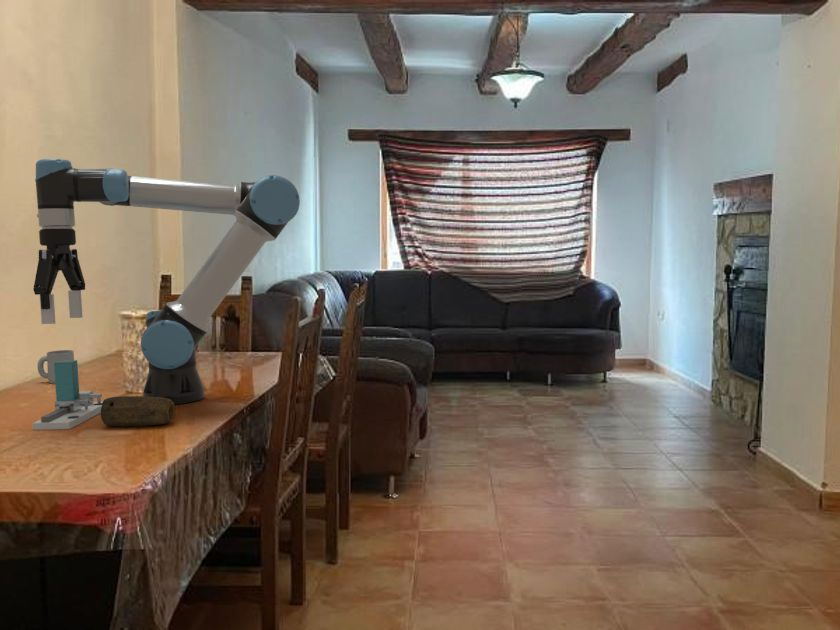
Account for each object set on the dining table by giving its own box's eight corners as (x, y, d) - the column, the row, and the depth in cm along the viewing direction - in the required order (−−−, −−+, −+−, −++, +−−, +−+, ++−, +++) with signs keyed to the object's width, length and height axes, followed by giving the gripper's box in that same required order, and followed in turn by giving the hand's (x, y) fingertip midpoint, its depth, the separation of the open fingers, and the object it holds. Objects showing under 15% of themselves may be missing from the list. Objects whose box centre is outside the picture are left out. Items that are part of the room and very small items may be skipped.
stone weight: (99, 431, 167) (97, 400, 166) (108, 423, 174) (106, 394, 173) (170, 427, 168) (169, 397, 168) (176, 420, 175) (175, 391, 175)
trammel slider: (92, 407, 182) (89, 359, 181) (85, 411, 178) (82, 362, 177) (63, 407, 182) (60, 360, 181) (55, 411, 178) (52, 362, 177)
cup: (72, 383, 226) (70, 352, 225) (35, 385, 223) (33, 354, 222) (77, 378, 233) (75, 349, 232) (41, 380, 230) (39, 351, 229)
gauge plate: (109, 407, 190) (108, 389, 190) (69, 429, 168) (68, 408, 168) (77, 408, 190) (76, 390, 190) (32, 429, 168) (31, 409, 168)
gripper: (66, 229, 188) (71, 315, 190) (11, 227, 164) (18, 326, 166) (96, 228, 188) (101, 315, 190) (46, 226, 164) (53, 326, 166)
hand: (62, 320), depth 178 cm, fingers open, 13 cm apart
